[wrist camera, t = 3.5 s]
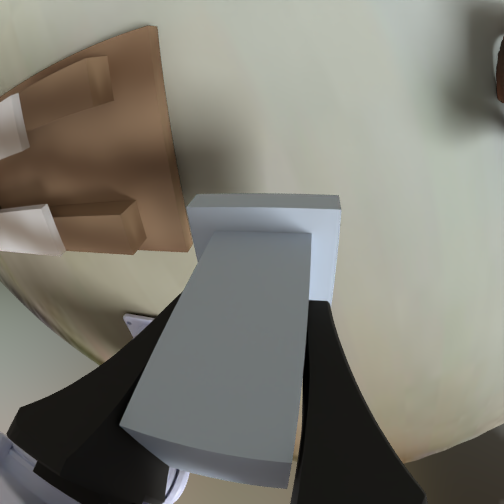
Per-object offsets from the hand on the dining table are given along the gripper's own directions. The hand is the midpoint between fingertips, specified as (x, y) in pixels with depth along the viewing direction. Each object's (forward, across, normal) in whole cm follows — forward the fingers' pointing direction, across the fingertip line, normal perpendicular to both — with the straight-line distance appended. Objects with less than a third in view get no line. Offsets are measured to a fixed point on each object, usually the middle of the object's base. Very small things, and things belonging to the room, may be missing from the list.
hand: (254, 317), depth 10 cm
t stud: (+4, 0, 0) cm, 4 cm away
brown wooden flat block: (+9, +17, -4) cm, 19 cm away
